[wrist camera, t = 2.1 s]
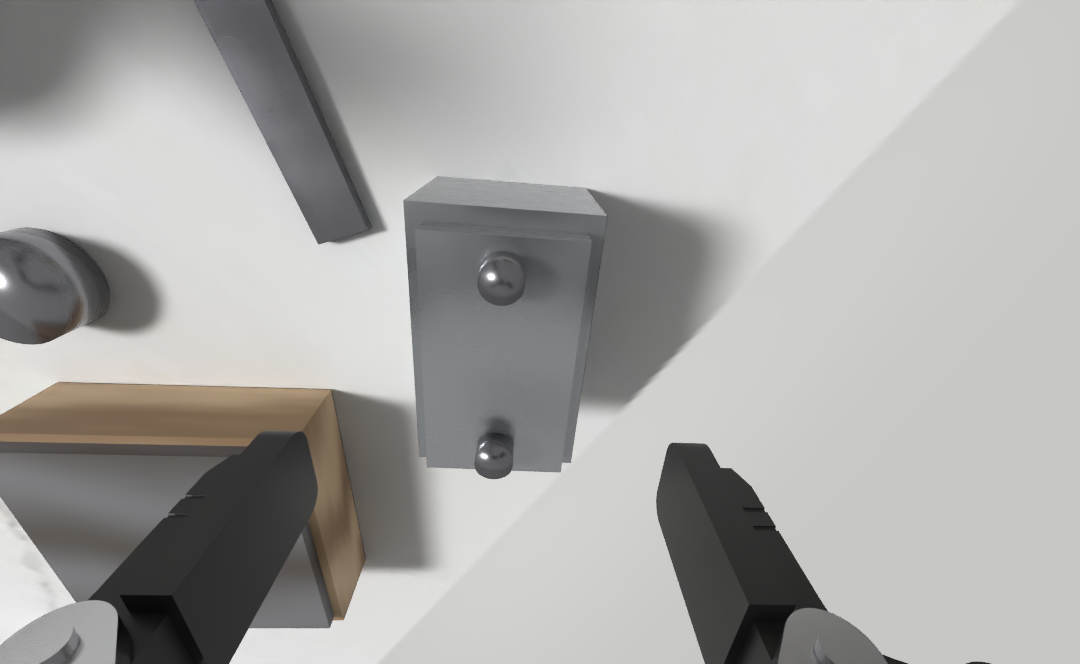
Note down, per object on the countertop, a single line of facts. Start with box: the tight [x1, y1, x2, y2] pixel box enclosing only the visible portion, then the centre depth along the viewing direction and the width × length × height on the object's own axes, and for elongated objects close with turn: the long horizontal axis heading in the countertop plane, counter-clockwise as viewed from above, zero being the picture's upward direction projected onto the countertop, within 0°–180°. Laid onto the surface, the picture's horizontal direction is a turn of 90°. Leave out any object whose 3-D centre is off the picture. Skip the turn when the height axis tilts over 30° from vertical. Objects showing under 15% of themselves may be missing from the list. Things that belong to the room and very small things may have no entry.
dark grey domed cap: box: [0, 228, 110, 344], centre depth 16 cm, size 4×4×2 cm
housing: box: [404, 176, 607, 479], centre depth 15 cm, size 9×6×7 cm, turn 175°
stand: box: [0, 382, 365, 628], centre depth 20 cm, size 12×12×4 cm
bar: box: [194, 0, 372, 244], centre depth 14 cm, size 12×2×1 cm, turn 15°
